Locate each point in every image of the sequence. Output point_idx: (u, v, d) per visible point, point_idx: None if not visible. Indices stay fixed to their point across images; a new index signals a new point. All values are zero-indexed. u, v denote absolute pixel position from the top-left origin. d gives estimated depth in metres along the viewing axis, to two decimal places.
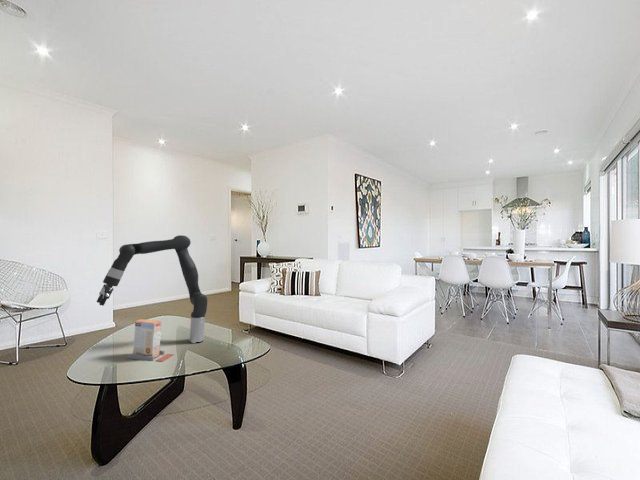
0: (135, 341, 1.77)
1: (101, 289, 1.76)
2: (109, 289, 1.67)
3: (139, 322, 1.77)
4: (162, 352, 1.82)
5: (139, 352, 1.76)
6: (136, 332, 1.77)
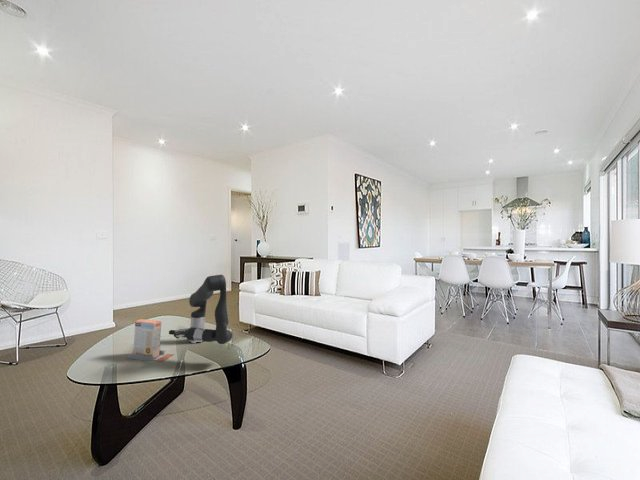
0: (135, 341, 1.77)
1: None
2: None
3: (139, 322, 1.77)
4: (162, 352, 1.82)
5: (139, 352, 1.76)
6: (136, 332, 1.77)
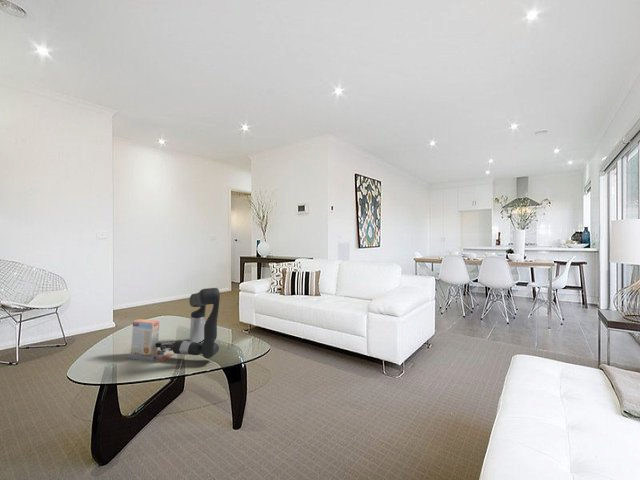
0: (133, 341, 1.77)
1: None
2: None
3: (137, 322, 1.77)
4: (162, 352, 1.82)
5: (137, 352, 1.76)
6: (134, 332, 1.77)
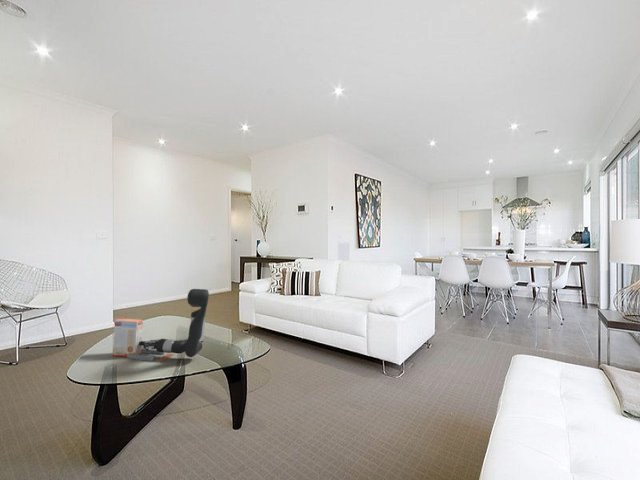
0: (115, 340, 1.76)
1: (145, 348, 1.74)
2: None
3: (119, 321, 1.76)
4: (162, 352, 1.82)
5: (119, 351, 1.75)
6: (116, 332, 1.76)
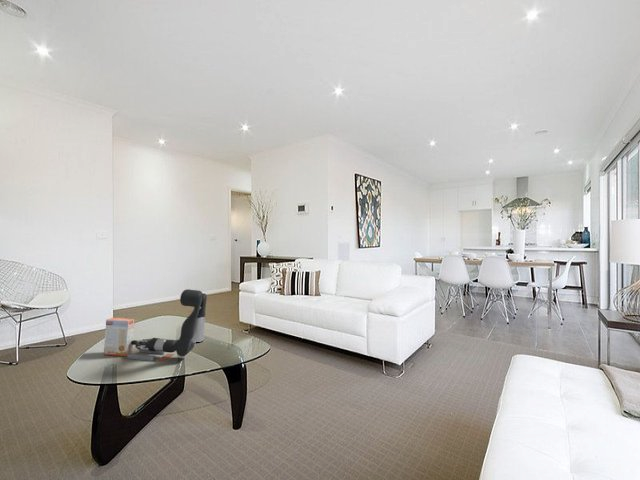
0: (106, 339, 1.76)
1: (136, 347, 1.75)
2: None
3: (111, 321, 1.77)
4: (162, 352, 1.82)
5: (111, 350, 1.76)
6: (107, 331, 1.77)
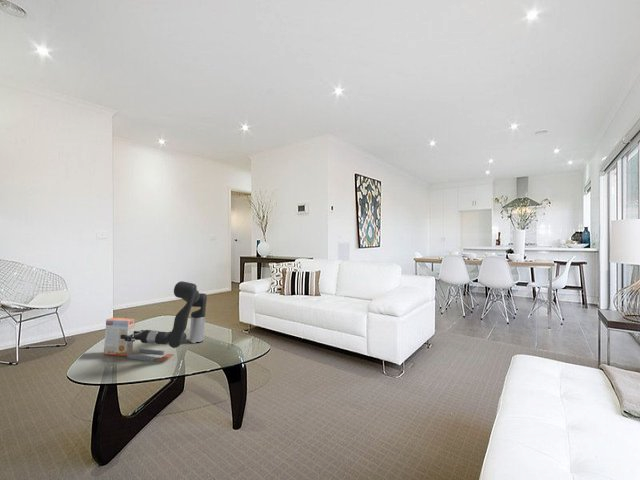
0: (106, 339, 1.76)
1: None
2: None
3: (111, 321, 1.77)
4: (162, 352, 1.82)
5: (111, 350, 1.76)
6: (107, 331, 1.77)
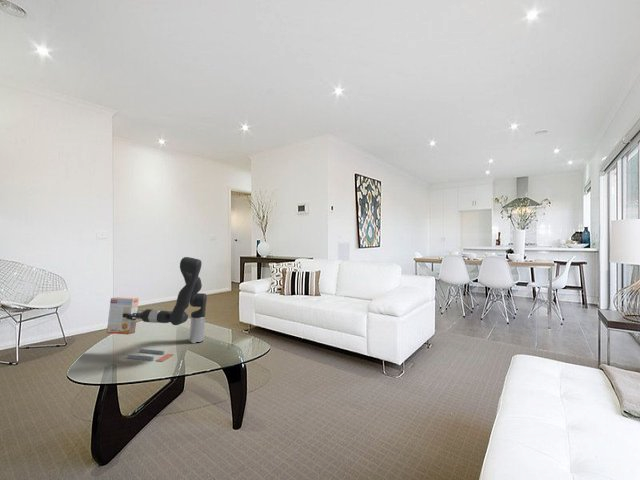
0: (110, 318, 1.78)
1: (130, 319, 1.73)
2: None
3: (115, 299, 1.79)
4: (162, 352, 1.82)
5: (114, 328, 1.77)
6: (111, 309, 1.78)
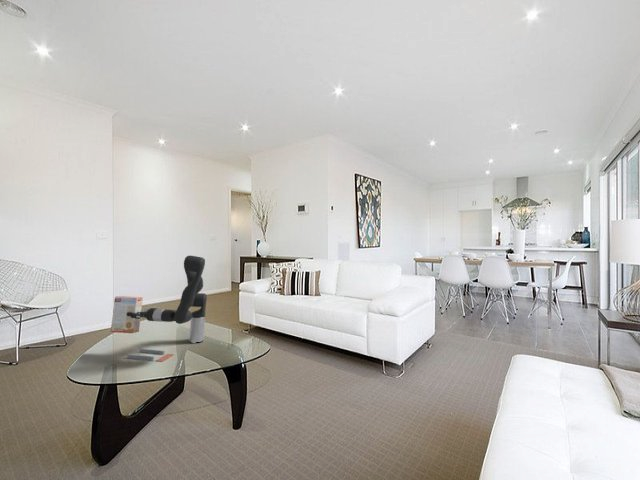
0: (114, 317, 1.78)
1: None
2: None
3: (119, 298, 1.79)
4: (162, 352, 1.82)
5: (118, 327, 1.76)
6: (115, 308, 1.78)
